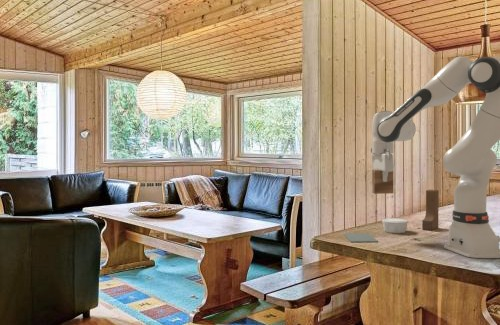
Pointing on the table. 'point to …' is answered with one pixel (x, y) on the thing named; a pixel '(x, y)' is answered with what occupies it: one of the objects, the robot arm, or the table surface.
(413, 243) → the table surface
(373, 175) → the walnut block
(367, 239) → the rubber mat
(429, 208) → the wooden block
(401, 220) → the ramekin
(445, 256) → the table surface
